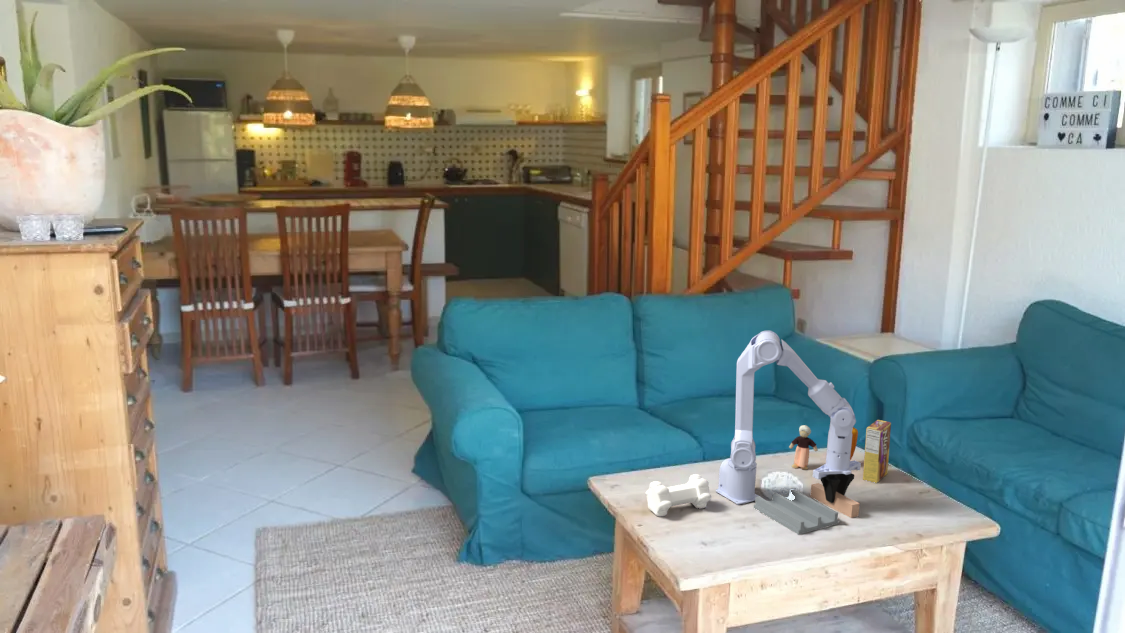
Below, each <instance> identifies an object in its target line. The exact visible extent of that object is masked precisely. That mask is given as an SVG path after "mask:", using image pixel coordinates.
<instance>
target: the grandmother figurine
mask: <svg viewBox="0 0 1125 633" xmlns="http://www.w3.org/2000/svg"><path fill="white" fill-rule="evenodd" d="M798 429H799V430H798V432H799V436H796V437H795V438H794V439H793V440H791V443H790V445H789V446H788V448H789V449H791V450H792V449H793V448H794V447H795V445H797V446H796V448H795V453H794V459H793V464H792V465H791V468H793V469H799V468H800V469H801V470H804V471H806V470H809V468H808V465H809V460H810V447H811V448H813V451H814V452H818V451H819V449H818V447H817V443H816V442H815V441H814V440H813V438H812V439H811V438H810V437H809V435H810V434H811V433H812V430H811V428H810V427H809V426H808V425H807V424H805V425H804V424H803V425H802V424H801V425H800V426H799V428H798Z"/></svg>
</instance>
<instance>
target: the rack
mask: <svg viewBox="0 0 1125 633" xmlns="http://www.w3.org/2000/svg"><path fill="white" fill-rule="evenodd" d="M791 492H792V494H793V495H794V496H795V499H794V500H792V501H791V500H789V499H787V498H785V497H786V496H783V495H781V494H780V493H777V492H772V494H771V495H772V497H771V500H766V499H765V498H763V497H762V496H760V495H758V497H756V501H754V502H755V504H753V509H754V508H755V509H754V510H756V509H757V510H759V511H760V512H759V511H758V512H759V513H761V512H762V513H764V514H765V515H764V514H763V515H764V516H766V515H767V516H766V517H768V518H769V517H770V519H771V518H772V519H771V520H772V521H774V520H775V521H774V522H776V523H778V524H780V526H783V527H785V528H786V529H788V530H790V531H792V532H794V534H797V535H801V534H805V533H809V532H813V531H816V530H817V531H818V530H821V529H824V528H827V527H831V526H836V525H839V524H840V522H839V521H840V519H839V517H838V516H839V512H838V511H837V510H835V509H833V508H831V507H829V506H827V505H825V504H823V503H821V502H819V501H817V500H815V499H814V498H812V497H810V496H807V495H805V494H804V493H801V492H799V491H798V490H795V489H794V490H791ZM759 496H760V497H759ZM761 497H762V498H761ZM757 510H756V511H757ZM762 513H761V514H762Z"/></svg>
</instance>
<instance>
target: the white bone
mask: <svg viewBox="0 0 1125 633" xmlns="http://www.w3.org/2000/svg"><path fill="white" fill-rule="evenodd" d="M709 483H710V482H709V480H708V479H706V478H703V477H702V475H701V474H698V473H695V474H694V473H692V474H691V475H690V476H689V479H688V481H687V482H686V483H682V484H676V485H672V486H665V485H664V484H663V483H662V482H661V481H657V480H654V481H651V482H650V483H649V488H647V490H646V491H645V496H646V501H647V508H648V510H650V511H651V512H652V513H654V515H655V516H656V517H660V518H662V517H665V516H666V515H668V511H669V509H670V508H671V507H674V506H680V505H686V504H692V505H693V506H694V508H696V509H698V508H699V509H704V508H706V507H707V504H708V502H709V501H710V500H711V499H712V494H711V491H710V484H709Z"/></svg>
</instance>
